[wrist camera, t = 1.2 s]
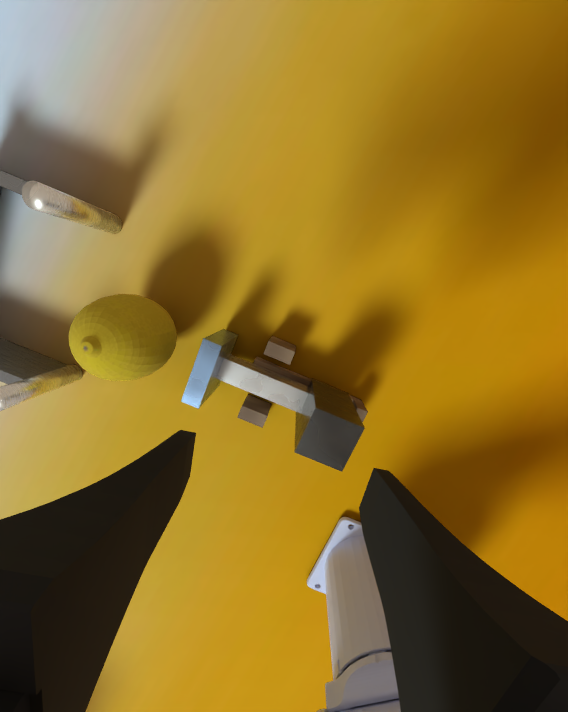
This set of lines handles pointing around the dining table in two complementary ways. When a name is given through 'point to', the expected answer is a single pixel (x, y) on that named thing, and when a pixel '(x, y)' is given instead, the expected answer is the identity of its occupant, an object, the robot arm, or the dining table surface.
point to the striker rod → (281, 400)
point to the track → (284, 351)
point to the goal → (20, 364)
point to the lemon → (122, 337)
